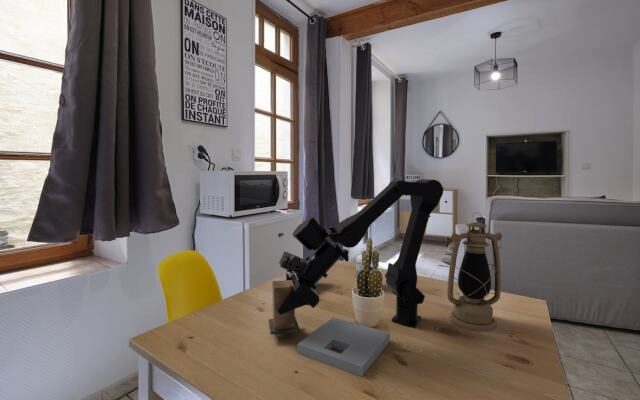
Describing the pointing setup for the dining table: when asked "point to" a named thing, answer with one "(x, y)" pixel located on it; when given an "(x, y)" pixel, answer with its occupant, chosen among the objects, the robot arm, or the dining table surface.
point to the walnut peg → (286, 321)
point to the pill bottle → (359, 262)
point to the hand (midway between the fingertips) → (277, 308)
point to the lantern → (474, 280)
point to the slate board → (345, 345)
